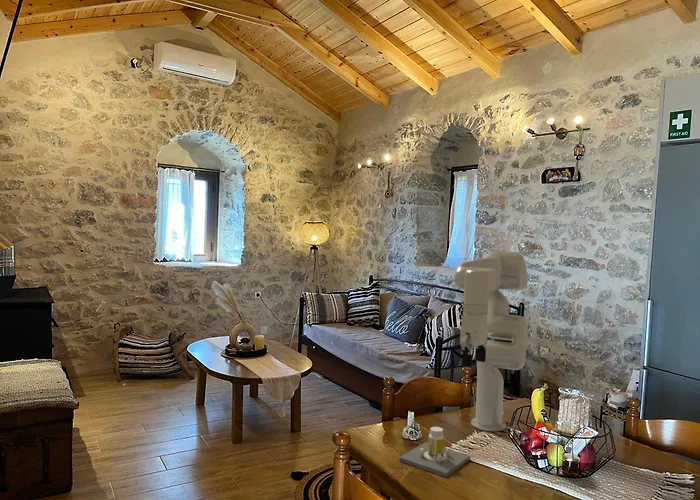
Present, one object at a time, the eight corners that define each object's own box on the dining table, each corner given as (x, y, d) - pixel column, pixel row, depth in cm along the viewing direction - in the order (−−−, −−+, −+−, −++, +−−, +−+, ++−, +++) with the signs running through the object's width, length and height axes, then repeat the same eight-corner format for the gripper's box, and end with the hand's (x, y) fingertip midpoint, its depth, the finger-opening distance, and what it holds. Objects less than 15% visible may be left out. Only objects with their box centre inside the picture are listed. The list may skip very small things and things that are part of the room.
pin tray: (425, 445, 177) (426, 434, 177) (470, 459, 167) (470, 447, 167) (399, 461, 165) (399, 449, 164) (445, 477, 155) (446, 464, 155)
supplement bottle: (444, 453, 168) (445, 427, 167) (442, 459, 163) (443, 432, 163) (429, 451, 169) (430, 425, 169) (426, 457, 165) (427, 430, 164)
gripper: (476, 305, 175) (474, 357, 175) (451, 310, 161) (449, 366, 162) (498, 308, 170) (496, 361, 171) (474, 313, 156) (472, 371, 157)
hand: (473, 363), depth 166 cm, fingers open, 9 cm apart
